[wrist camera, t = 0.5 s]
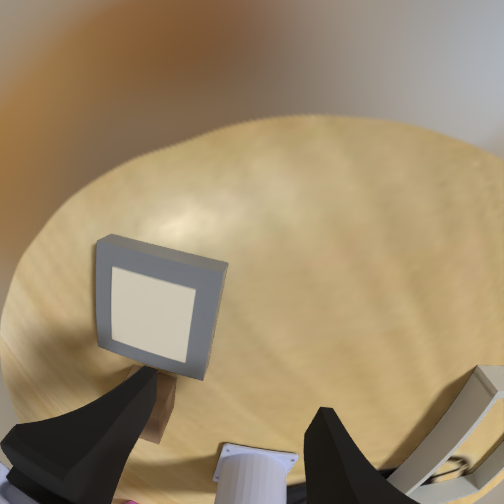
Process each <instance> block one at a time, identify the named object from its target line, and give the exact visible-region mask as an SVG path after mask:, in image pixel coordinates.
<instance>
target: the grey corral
mask: <svg viewBox="0 0 504 504" xmlns="http://www.w3.org/2000/svg"><path fill="white" fill-rule="evenodd" d="M500 398H504V366H488V365H477V367H476V368H475V370H474V372H473V373H472V375H471V377H470V378H469V380H468V381H467V383H466V384H465V386H464V387H463V389H462V390H461V392H460V393H459V395H458V396H457V398H456V399H455V401H454V402H453V403H452V405H451V406H450V408H449V409H448V410H447V412H446V413H445V414H444V416H443V417H442V418H441V420H440V421H439V422H438V423H437V425H436V426H435V427H434V428H433V430H432V431H431V432H430V433H429V435H428V436H427V437H426V438H425V439H424V440H423V442H422V443H421V444H420V445H419V446H418V447H417V448H416V450H415V451H414V452H413V453H412V454H411V455H410V456H409V457H408V458H407V459H406V460H405V461H404V462H403V463H402V464H401V466H400V467H399V468H398V469H397V470H396V471H395V472H394V473H392V474H391V475H390V476H389V477H388V478H387V479H386V480H387V481H388V482H390V483H391V484H392V485H393V486H394V487H396V488H397V489H398V490H400V491H401V492H402V493H404V494H405V495H407V496H408V497H410V498H411V499H413V500H415V501H417V502H419V503H420V504H444V503H448V502H451V501H454V500H457V499H460V498H463V497H466V496H469V495H472V494H474V493H477V492H479V491H480V490H481V489H482V488H484V487H485V486H486V485H487V484H488V483H489V482H490V481H492V480H493V479H494V478H495V477H496V476H497V475H498V474H499V473H500V472H501V471H502V470H503V469H504V441H503V442H502V443H501V444H500V445H499V446H498V447H497V449H496V450H495V451H494V452H493V453H492V454H491V455H490V456H489V457H488V458H487V459H486V460H485V461H484V462H483V463H482V464H481V465H480V466H479V467H478V468H477V469H476V470H475V471H474V472H473V473H472V474H469V475H466V476H462V477H459V478H455V479H451V480H447V481H443V482H439V483H434V484H429V485H424V486H420V485H421V484H422V483H423V482H424V481H425V480H427V479H428V478H429V477H430V476H431V475H432V474H433V473H434V472H435V471H436V470H437V469H438V468H439V467H440V466H441V465H442V464H443V463H444V462H445V461H446V460H447V459H448V458H449V457H450V456H451V455H452V454H453V453H454V452H455V451H456V450H457V449H458V448H459V447H460V445H461V444H462V443H463V442H464V441H465V440H466V439H467V438H468V436H469V435H470V434H471V433H472V432H473V431H474V429H475V428H476V427H477V426H478V424H479V423H480V422H481V421H482V419H483V418H484V417H485V416H486V414H487V413H488V412H489V410H490V409H491V408H492V406H493V405H494V403H495V402H496V401H497V399H500Z"/></svg>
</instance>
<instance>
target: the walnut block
mask: <svg viewBox="0 0 504 504" xmlns="http://www.w3.org/2000/svg"><path fill="white" fill-rule="evenodd" d="M140 368H141V367H140V366H137V365H134V366H133V368H132V369H131V371H130V372H129V374H128V375H127V377H126V378H125V380H127V379H128V378H129V377H131V376H132V375H133V374H134V373H136V372H137V371H138V370H139V369H140ZM125 380H124V381H125ZM124 381H123V382H124ZM175 389H176V378H174V377H171V376H168V375H164V374H161V373H158V376H157V393H156V402H155V405H154V407H153V410H152V413H151V415H150V418H149V420H148V422H147V423H146V425H145V427H144V429H143V431H142V433H141V434H140V436H139V438H141V439H144V440H147V441H150V442H153V443H156V444H159V443H160V441H161V438H162V435H163V433H164V430H165V428H166V425H167V423H168V420H169V418H170V415H171V413H172V410H173V408H174V400H175Z"/></svg>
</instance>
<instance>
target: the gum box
mask: <svg viewBox="0 0 504 504" xmlns="http://www.w3.org/2000/svg"><path fill="white" fill-rule="evenodd" d="M123 504H138V503H136V502H134V501H132V500H130V501H128V502H125V503H123Z"/></svg>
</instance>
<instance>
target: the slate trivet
mask: <svg viewBox="0 0 504 504" xmlns="http://www.w3.org/2000/svg"><path fill="white" fill-rule="evenodd" d="M227 268H228V263H226V262H222V261H218V260H214V259H210V258H206V257H202V256H197V255H193V254H189V253H185V252H181V251H177V250H173V249H169V248H165V247H161V246H157V245H153V244H149V243H145V242H141V241H137V240H133V239H129V238H125V237H121V236H118V235H114V234H110V235H108V236H105V237H103V238H101V239H99V240H97V249H96V321H97V338H98V346H99V347H101V348H104V349H106V350H109V351H111V352H114V353H117V354H119V355H122V356H125V357H127V358H130V359H133V360H136V361H139V362H142V363H145V364H148V365H151V366H154V367H157V368H160V369H163V370H166V371H170V372H173V373H176V374H180V375H183V376H187V377H190V378H194V379H198V380H201V381H203V380H204V377H205V374H206V371H207V367H208V364H209V358H210V353H211V348H212V343H213V338H214V332H215V327H216V322H217V317H218V312H219V307H220V302H221V297H222V292H223V287H224V282H225V278H226V273H227Z"/></svg>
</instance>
